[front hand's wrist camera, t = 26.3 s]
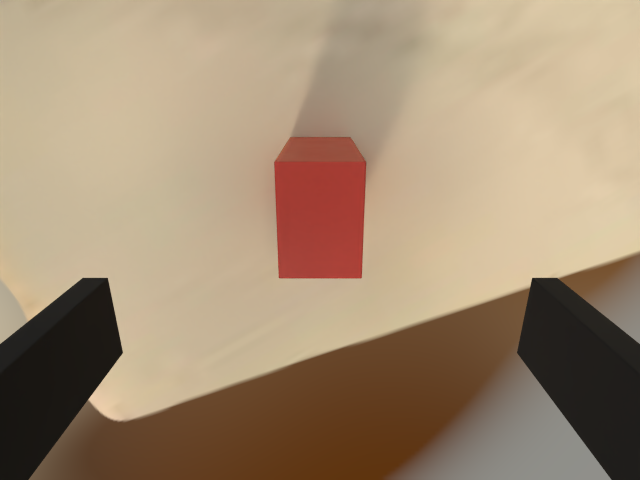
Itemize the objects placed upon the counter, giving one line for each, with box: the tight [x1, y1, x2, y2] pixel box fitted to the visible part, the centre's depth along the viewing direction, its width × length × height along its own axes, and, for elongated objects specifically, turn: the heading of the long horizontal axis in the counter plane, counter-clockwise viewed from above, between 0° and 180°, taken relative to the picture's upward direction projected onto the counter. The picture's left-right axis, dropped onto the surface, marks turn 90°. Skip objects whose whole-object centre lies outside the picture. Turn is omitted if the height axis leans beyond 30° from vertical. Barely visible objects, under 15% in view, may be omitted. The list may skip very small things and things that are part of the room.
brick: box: [274, 137, 366, 278], centre depth 27 cm, size 5×7×12 cm
